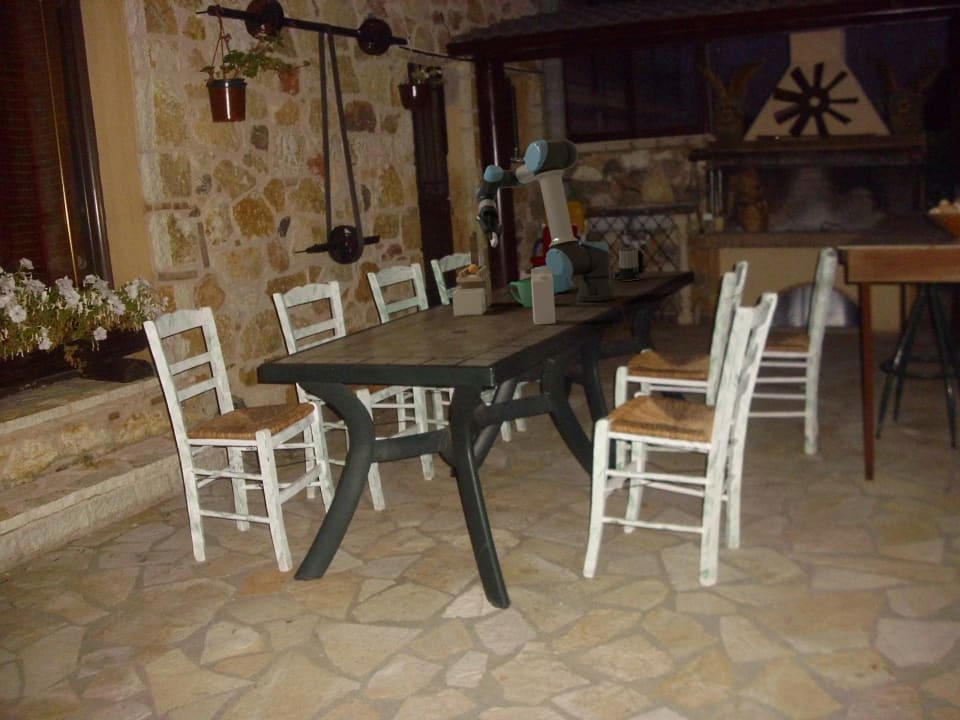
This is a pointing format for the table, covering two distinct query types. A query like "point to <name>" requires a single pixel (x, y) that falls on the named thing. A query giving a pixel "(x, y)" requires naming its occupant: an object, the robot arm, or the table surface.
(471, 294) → the beige cardboard cube
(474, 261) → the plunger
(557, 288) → the decorative pot
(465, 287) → the launcher
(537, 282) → the milk carton
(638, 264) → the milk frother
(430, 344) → the table surface
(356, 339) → the table surface
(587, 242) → the robot arm
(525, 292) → the mug
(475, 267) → the ball
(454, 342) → the table surface
